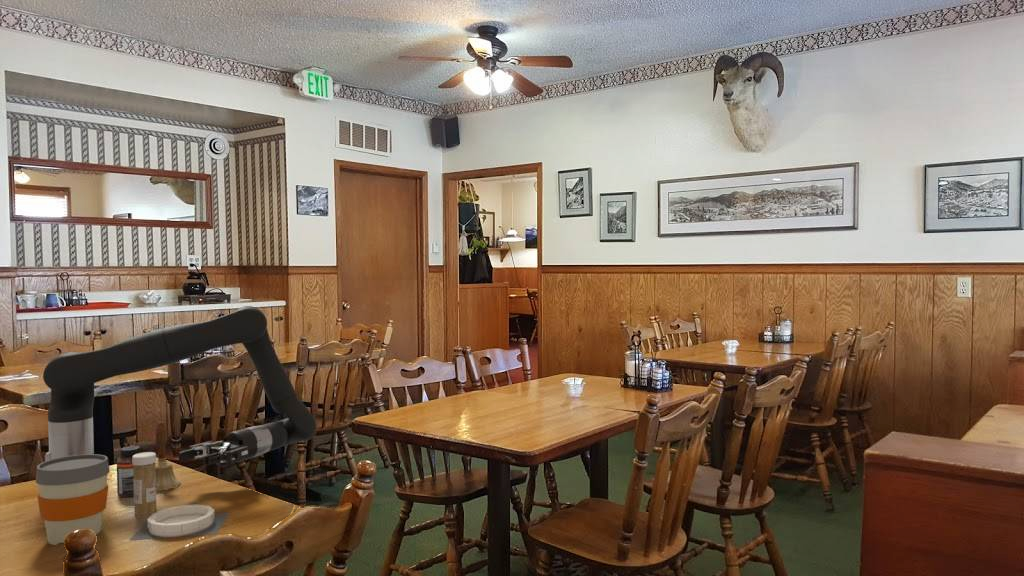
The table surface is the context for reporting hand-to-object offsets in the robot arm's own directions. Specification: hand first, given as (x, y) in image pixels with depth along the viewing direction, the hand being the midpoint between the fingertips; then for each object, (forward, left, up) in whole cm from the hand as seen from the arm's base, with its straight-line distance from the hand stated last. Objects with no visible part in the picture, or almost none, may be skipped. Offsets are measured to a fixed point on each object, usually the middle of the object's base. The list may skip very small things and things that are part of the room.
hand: (191, 459), depth 161 cm
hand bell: (-10, +13, -10) cm, 19 cm away
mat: (+3, -19, -10) cm, 21 cm away
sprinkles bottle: (-7, -9, -10) cm, 15 cm away
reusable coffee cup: (-17, -19, -10) cm, 27 cm away
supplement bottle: (-15, +7, -10) cm, 20 cm away
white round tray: (+3, -19, -9) cm, 21 cm away
